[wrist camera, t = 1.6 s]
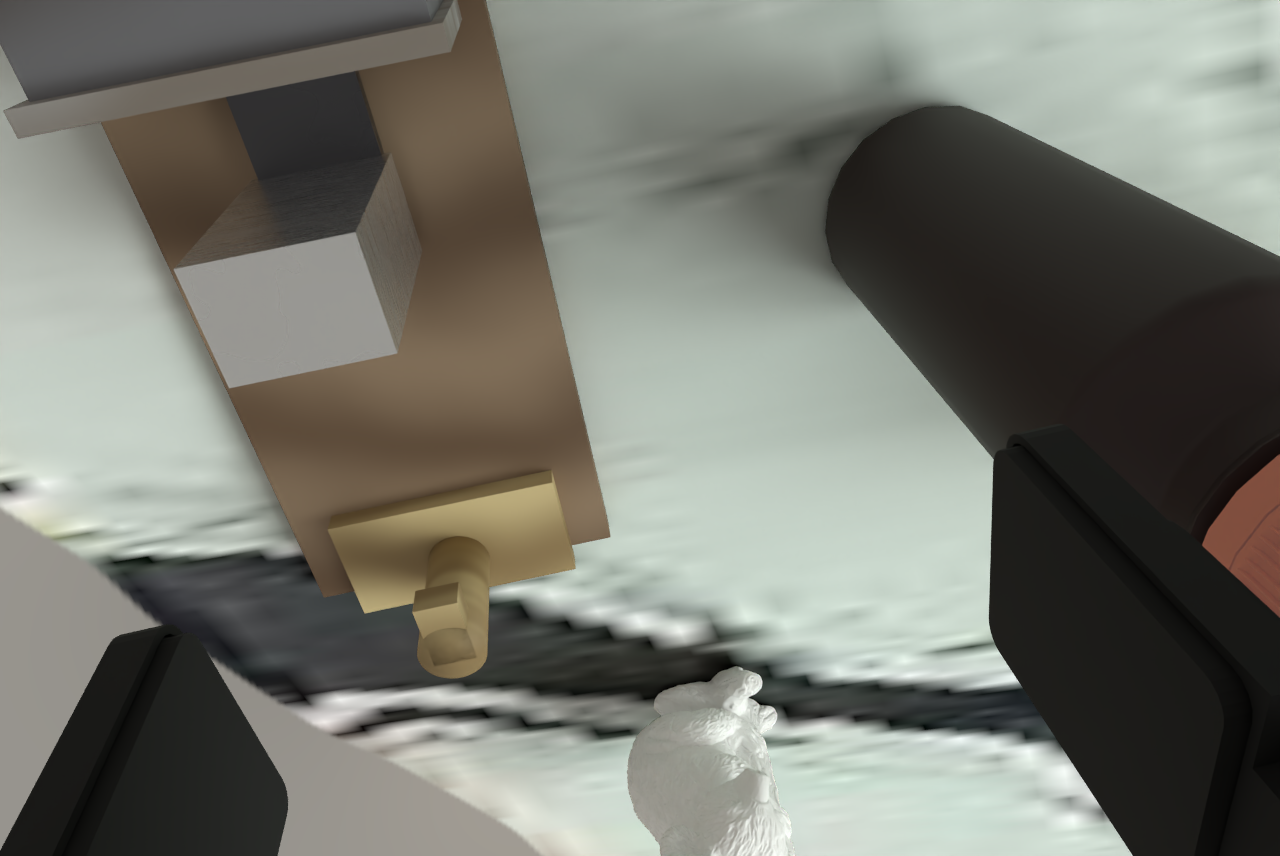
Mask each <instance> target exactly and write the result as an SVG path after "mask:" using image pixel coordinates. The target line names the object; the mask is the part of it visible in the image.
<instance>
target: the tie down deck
mask: <svg viewBox="0 0 1280 856" xmlns="http://www.w3.org/2000/svg"><path fill="white" fill-rule="evenodd" d="M0 44H1V46H2V48H3V50H4V52H5V54H6V56H7V58H8V60H9V62H10V64H11V66H12V68H13V70H14V72H15V74H16V76H17V78H18V80H19V82H20V84H21V86H22V88H23V90H24V92H25V94H26V96H27V98H28V100H26V101H24V102H22V103H19V104H17V105H15V106H13V107H10V108H8V109H6V110H4V113H5V115H6V117H7V119H8V121H9V123H10V125H11V126H12V128H13V130H14V132H15V134H16V136H17V138H18V139H19V138H24V137H29V136H34V135H39V134H44V133H49V132H54V131H59V130H64V129H69V128H74V127H79V126H84V125H89V124H94V123H99V122H101V124H102V126H103V128H104V130H105V132H106V134H107V136H108V139H109V141H110V143H111V145H112V147H113V149H114V151H115V153H116V156H117V158H118V160H119V162H120V164H121V166H122V168H123V170H124V173H125V175H126V177H127V179H128V181H129V183H130V185H131V188H132V190H133V192H134V194H135V196H136V198H137V200H138V202H139V205H140V207H141V209H142V211H143V213H144V215H145V217H146V219H147V222H148V224H149V226H150V228H151V230H152V232H153V234H154V236H155V239H156V241H157V243H158V245H159V247H160V249H161V251H162V254H163V256H164V258H165V260H166V262H167V264H168V266H169V268H170V271H171V273H172V275H173V277H174V279H175V281H176V283H177V285H178V288H179V290H180V292H181V294H182V296H183V298H184V300H185V302H186V305H187V307H188V309H189V311H190V313H191V315H192V317H193V320H194V322H195V324H196V326H197V328H198V330H199V332H200V334H201V337H202V339H203V341H204V343H205V345H206V347H207V349H208V351H209V354H210V356H211V358H212V360H213V362H214V364H215V366H216V368H217V371H218V373H219V375H220V377H221V379H222V381H223V383H224V386H225V388H226V390H227V392H228V394H229V396H230V398H231V400H232V403H233V405H234V407H235V409H236V411H237V413H238V415H239V417H240V420H241V422H242V424H243V426H244V428H245V430H246V432H247V434H248V437H249V439H250V441H251V443H252V445H253V447H254V449H255V452H256V454H257V456H258V458H259V460H260V462H261V464H262V466H263V469H264V471H265V473H266V475H267V477H268V479H269V481H270V483H271V486H272V488H273V490H274V492H275V494H276V496H277V498H278V500H279V503H280V505H281V507H282V509H283V511H284V513H285V515H286V518H287V520H288V522H289V524H290V526H291V528H292V530H293V532H294V535H295V537H296V539H297V541H298V543H299V545H300V547H301V549H302V552H303V554H304V556H305V558H306V560H307V562H308V564H309V566H310V569H311V571H312V573H313V575H314V577H315V579H316V581H317V584H318V586H319V588H320V590H321V592H322V594H323V596H324V597H329V596H333V595H338V594H343V593H347V592H352V591H355V593H356V595H357V597H358V599H359V602H360V604H361V606H362V608H363V611H364V613H369V612H374V611H378V610H383V609H388V608H392V607H397V606H402V605H407V604H411V603H414V604H413V612H412V613H413V615H414V617H415V620H416V622H417V625H418V627H419V630H420V633H419V641H418V650H417V656H418V660H419V662H420V664H421V665H422V667H423V668H424V669H425V670H427V671H428V672H430V673H431V674H433V675H436V676H439V677H443V678H460V677H465V676H468V675H470V674H472V673H474V672H476V671H477V670H478V669H480V668H481V667H482V665H483V664H484V663H485V661H486V658H487V647H488V614H489V587H492V586H497V585H501V584H506V583H511V582H516V581H520V580H525V579H530V578H535V577H539V576H544V575H549V574H553V573H558V572H563V571H568V570H572V569H576V568H575V558H574V552H573V549H572V545H575V544H580V543H585V542H589V541H594V540H599V539H604V538H608V537H610V531H609V524H608V519H607V515H606V510H605V506H604V502H603V498H602V493H601V489H600V485H599V481H598V476H597V472H596V468H595V464H594V459H593V455H592V451H591V447H590V442H589V438H588V434H587V430H586V425H585V421H584V417H583V413H582V408H581V404H580V400H579V395H578V391H577V387H576V383H575V378H574V374H573V370H572V366H571V361H570V357H569V353H568V349H567V344H566V340H565V336H564V332H563V327H562V323H561V319H560V315H559V310H558V306H557V302H556V298H555V293H554V289H553V285H552V280H551V276H550V272H549V268H548V263H547V259H546V255H545V251H544V246H543V242H542V238H541V234H540V229H539V225H538V221H537V217H536V212H535V208H534V204H533V200H532V195H531V191H530V187H529V183H528V178H527V174H526V170H525V165H524V161H523V157H522V153H521V148H520V144H519V140H518V136H517V131H516V127H515V123H514V119H513V114H512V110H511V106H510V102H509V97H508V93H507V89H506V85H505V80H504V76H503V72H502V68H501V63H500V59H499V55H498V50H497V46H496V42H495V38H494V33H493V29H492V25H491V21H490V16H489V12H488V8H487V4H486V0H0ZM353 71H359V74H360V77H361V81H362V84H363V87H364V90H365V93H366V97H367V100H368V103H369V106H370V109H371V113H372V116H373V119H374V122H375V125H376V128H377V132H378V135H379V138H380V141H381V144H382V148H383V151H384V153H387V152H392V156H393V159H394V162H395V165H396V168H397V172H398V175H399V178H400V181H401V185H402V188H403V191H404V194H405V197H406V201H407V204H408V207H409V210H410V214H411V217H412V220H413V223H414V227H415V230H416V233H417V236H418V239H419V243H420V246H421V249H422V254H421V258H420V262H419V266H418V270H417V274H416V279H415V283H414V287H413V291H412V295H411V299H410V303H409V308H408V312H407V316H406V320H405V324H404V328H403V332H402V337H401V341H400V345H399V349H398V353H397V354H393V355H388V356H383V357H379V358H374V359H369V360H364V361H359V362H354V363H350V364H345V365H340V366H335V367H330V368H325V369H320V370H316V371H311V372H306V373H301V374H296V375H291V376H287V377H282V378H277V379H272V380H267V381H262V382H257V383H253V384H248V385H243V386H238V387H233V388H229V387H228V385H227V383H226V381H225V379H224V376H223V374H222V372H221V370H220V368H219V366H218V364H217V361H216V359H215V357H214V355H213V353H212V351H211V349H210V346H209V344H208V342H207V340H206V338H205V336H204V334H203V331H202V329H201V327H200V325H199V323H198V321H197V319H196V316H195V314H194V312H193V310H192V308H191V306H190V304H189V302H188V299H187V297H186V295H185V293H184V291H183V289H182V287H181V284H180V282H179V280H178V278H177V276H176V274H175V272H174V268H175V267H176V266H177V265H178V264H179V262H180V261H181V260H182V259H183V258H184V257H185V256H186V254H187V253H188V252H189V251H190V250H191V249H192V248H193V246H194V245H195V244H196V243H197V242H198V241H199V240H200V238H201V237H202V236H203V235H204V234H205V233H206V232H207V230H208V229H209V228H210V227H211V226H212V225H213V224H214V222H215V221H216V220H217V219H218V218H219V217H220V216H221V214H222V213H223V212H224V211H225V210H226V209H227V208H228V206H229V205H230V204H231V203H232V202H233V201H234V200H235V199H236V197H237V196H238V195H239V194H240V193H241V192H242V191H243V189H244V188H245V187H246V186H247V185H248V184H249V183H250V181H251V180H254V179H258V178H257V176H256V173H255V170H254V168H253V165H252V163H251V160H250V158H249V155H248V153H247V150H246V148H245V145H244V142H243V140H242V137H241V135H240V132H239V130H238V127H237V125H236V122H235V120H234V117H233V115H232V112H231V109H230V107H229V104H228V102H227V99H226V97H228V96H233V95H238V94H243V93H248V92H253V91H258V90H263V89H268V88H273V87H278V86H283V85H288V84H293V83H298V82H303V81H308V80H313V79H318V78H323V77H328V76H333V75H338V74H343V73H348V72H353Z"/></svg>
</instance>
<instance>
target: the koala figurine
mask: <svg viewBox="0 0 1280 856" xmlns="http://www.w3.org/2000/svg"><path fill="white" fill-rule="evenodd" d="M761 688H762V679H761V677H760V675H759V674H756V673H753V672H751V671H749V670H743V669H742V668H741V667H738V666H735V667H732V668H729V669H728V670H723V671H720V672H718V673H717V674H716V675H715V676H714V677H713V678H712V680H711V681H709V682H700V681H699V682H695V683H688V684H685V685H684V684H683V685H677V686H676V687H673V688H669V689H668V690H664V691H662V692H661V693H659V694H658V695H657V697H656V698H655V700H654V709H655V710H656V711H657V712H658V713H659V714H660V715H662V716H660V717H659V718H657V719H656V720H654V721H653V722H651V723H650V724H649V725H648V726H646V727H645V728H644V729H643V730H641V732H640V733H639V734H638V736H637V737H636V740H635V741H634V743H633V747H632V749H631V752H630V755H629V759H628V770H627V774H628V777H627V778H628V790H629V794H630V797H631V800H632V803H633V807H634V811H635V813H636V815H637V816H638V819H640V821H641V822H642V823H643V824H644V825H645V827H646V828H647V829H648V830H649V831H650V833H651V834H652V835H653V836H654V837H655V840H656V841H657V842H658V843H659V845H660V854H661V856H796V854H795V849H794V846H793V842H792V841H791V839H790V837H791V832H792V829H791V822H790V820H789V815H788V813H787V812H786V811H785V810H784V809H783V808H782V807H780V803H779V797H778V794H779V793H778V789H777V786H776V782H775V779H774V775H773V770H772V764H771V760H770V757H769V754H768V752H767V747H766V742H765V740H764V738H763V737H762V736H761V733H763V732H765V731H768V730H770V729H771V728H772V727H773V725H774V724H775V722H776V720H777V712H776V711H775V709H774V708H773V707H771V706H766V705H759V704H758V703H757V702H756V701H754V700H753V699H750V698H749V697H750V696H752V695H754V694H756V693H757V692H758V691H759V690H760V689H761Z"/></svg>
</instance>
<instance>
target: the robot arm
mask: <svg viewBox="0 0 1280 856" xmlns="http://www.w3.org/2000/svg"><path fill="white" fill-rule="evenodd" d="M989 625H990V630H991V634H992V637H993V640H994V642H995V645H996V647H997V649H998V650H999V652H1000V654H1001V655H1002V657H1003V658H1004V660H1005V661H1006V663H1007V664H1008V666H1009V667H1010V669H1011V670H1012V672H1013V673H1014V675H1015V677H1016V678H1017V680H1018V681H1019V683H1020V684H1021V686H1022V687H1023V689H1024V690H1025V692H1026V693H1027V695H1028V696H1029V698H1030V699H1031V701H1032V702H1033V704H1034V705H1035V707H1036V709H1037V710H1038V712H1039V713H1040V715H1041V716H1042V718H1043V719H1044V721H1045V722H1046V724H1047V725H1048V727H1049V728H1050V730H1051V731H1052V733H1053V734H1054V736H1055V737H1056V739H1057V741H1058V742H1059V744H1060V745H1061V747H1062V748H1063V750H1064V751H1065V753H1066V754H1067V756H1068V757H1069V759H1070V760H1071V762H1072V763H1073V765H1074V766H1075V768H1076V770H1077V771H1078V773H1079V774H1080V776H1081V777H1082V779H1083V780H1084V782H1085V783H1086V785H1087V786H1088V788H1089V789H1090V791H1091V792H1092V794H1093V795H1094V797H1095V798H1096V800H1097V802H1098V803H1099V805H1100V806H1101V808H1102V809H1103V811H1104V812H1105V814H1106V815H1107V817H1108V818H1109V820H1110V821H1111V823H1112V824H1113V826H1114V827H1115V829H1116V831H1117V832H1118V834H1119V835H1120V837H1121V838H1122V840H1123V841H1124V843H1125V844H1126V846H1127V847H1128V849H1129V850H1130V852H1131V853H1132V855H1133V856H1280V617H1278V616H1277V615H1276V614H1275V613H1274V612H1273V611H1272V610H1271V609H1270V608H1269V607H1268V606H1267V605H1266V604H1264V603H1263V602H1262V601H1261V600H1260V599H1259V598H1258V597H1257V596H1256V595H1255V594H1254V593H1253V592H1252V591H1251V590H1249V589H1248V588H1247V587H1246V586H1245V585H1244V584H1243V583H1242V582H1241V581H1240V580H1239V579H1238V578H1237V577H1235V576H1234V575H1233V574H1232V573H1231V572H1230V571H1229V570H1228V569H1227V568H1226V567H1225V566H1224V565H1223V564H1221V563H1220V562H1219V561H1218V560H1217V559H1216V558H1215V557H1214V556H1213V555H1212V554H1211V553H1210V552H1209V551H1207V550H1206V549H1205V548H1204V547H1203V546H1202V545H1201V544H1200V543H1199V542H1198V541H1197V540H1196V539H1195V538H1194V537H1192V536H1191V535H1190V534H1189V533H1188V532H1187V531H1186V530H1185V529H1183V528H1182V527H1181V526H1179V525H1178V524H1176V523H1175V522H1174V521H1170V520H1167V519H1166V518H1165V517H1164V516H1163V515H1162V514H1161V513H1160V512H1159V511H1158V510H1156V509H1155V508H1154V507H1153V506H1152V505H1151V504H1150V503H1149V502H1148V501H1147V500H1146V499H1145V498H1144V497H1143V496H1142V495H1141V494H1139V493H1138V492H1137V491H1136V490H1135V489H1134V488H1133V487H1132V486H1131V485H1130V484H1129V483H1128V482H1127V481H1126V480H1125V479H1123V478H1122V477H1121V476H1120V475H1119V474H1118V473H1117V472H1116V471H1115V470H1114V469H1113V468H1112V467H1111V466H1110V465H1109V464H1108V463H1106V462H1105V461H1104V460H1103V459H1102V458H1101V457H1100V456H1099V455H1098V454H1097V453H1096V452H1095V451H1094V450H1093V449H1092V448H1090V447H1089V446H1088V445H1087V444H1086V443H1085V442H1084V441H1083V440H1082V439H1081V438H1080V437H1079V436H1078V435H1077V434H1076V433H1075V432H1073V431H1072V430H1071V429H1070V428H1069V427H1067V426H1066V425H1064V424H1056V425H1051V426H1047V427H1042V428H1038V429H1033V430H1029V431H1025V432H1020V433H1016V434H1013V435H1011V436H1010V437H1009V439H1008V441H1007V445H1006V449H1002V450H999V451H997V452H996V454H995V456H994V462H993V495H992V530H991V564H990V598H989ZM287 811H288V797H287V791H286V787H285V784H284V782H283V779H282V778H281V776H280V774H279V773H278V771H277V769H276V768H275V766H274V764H273V763H272V761H271V759H270V758H269V756H268V754H267V753H266V751H265V749H264V748H263V746H262V744H261V743H260V741H259V739H258V737H257V736H256V734H255V732H254V731H253V729H252V727H251V726H250V724H249V722H248V721H247V719H246V717H245V716H244V714H243V712H242V711H241V709H240V707H239V706H238V704H237V702H236V700H235V699H234V697H233V695H232V694H231V692H230V690H229V689H228V687H227V685H226V684H225V682H224V680H223V679H222V677H221V675H220V674H219V672H218V670H217V668H216V667H215V665H214V663H213V662H212V660H211V658H210V657H209V655H208V653H207V652H206V650H205V648H204V647H203V645H202V643H201V642H200V640H199V639H198V638H197V636H195V635H194V634H192V633H185V634H183V633H182V632H181V630H180V629H179V628H177V627H176V626H174V625H162V626H158V627H154V628H149V629H144V630H140V631H136V632H132V633H127V634H122V635H119V636H117V637H116V638H114V639H113V640H112V641H111V643H110V644H109V646H108V647H107V649H106V651H105V653H104V655H103V657H102V659H101V661H100V662H99V664H98V666H97V668H96V670H95V672H94V674H93V676H92V678H91V680H90V682H89V683H88V685H87V687H86V689H85V691H84V693H83V695H82V697H81V698H80V700H79V702H78V704H77V706H76V708H75V710H74V712H73V714H72V716H71V717H70V719H69V721H68V724H67V725H66V727H65V729H64V731H63V733H62V735H61V736H60V738H59V740H58V742H57V744H56V746H55V748H54V750H53V752H52V754H51V756H50V757H49V759H48V761H47V763H46V765H45V767H44V769H43V771H42V773H41V775H40V776H39V778H38V780H37V782H36V784H35V786H34V788H33V789H32V791H31V793H30V795H29V797H28V799H27V801H26V803H25V805H24V807H23V808H22V810H21V812H20V814H19V816H18V818H17V820H16V822H15V824H14V826H13V827H12V830H11V831H10V833H9V835H8V837H7V839H6V841H5V843H4V844H3V846H2V849H1V850H0V856H277V855H278V851H279V847H280V842H281V838H282V834H283V829H284V825H285V821H286V817H287Z"/></svg>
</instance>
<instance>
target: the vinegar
mask: <svg viewBox="0 0 1280 856" xmlns="http://www.w3.org/2000/svg"><path fill="white" fill-rule="evenodd" d="M825 231H826V237H827V241H828V246H829V250H830V254H831V259H832V262H833V264H834V265H835V267H836V268H837V270H838V272H839V273H840V275H841V276H842V278H843V279H844V281H845V282H846V284H847V285H848V286H849V288H850V289H851V290H852V291H853V292H854V294H855V295H856V296H857V297H858V298H859V299H860V301H861V302H862V303H863V304H864V305H865V307H866V308H867V309H868V310H869V311H870V313H871V314H872V315H873V316H874V317H875V319H876V320H877V321H878V322H879V323H880V324H881V326H882V327H883V328H884V329H885V330H886V332H887V333H888V334H889V335H890V336H891V338H892V339H893V340H894V341H895V342H896V343H897V345H898V346H899V347H900V348H901V349H902V351H903V352H904V353H905V354H906V355H907V357H908V358H909V359H910V360H911V361H912V362H913V364H914V365H915V366H916V367H917V368H918V370H919V371H920V372H921V373H922V374H923V376H924V377H925V378H926V379H927V380H928V382H929V383H930V384H931V385H932V386H933V387H934V389H935V390H936V391H937V392H938V393H939V395H940V396H941V397H942V398H943V399H944V401H945V402H946V403H947V404H948V405H949V406H950V408H951V409H952V410H953V411H954V412H955V414H956V415H957V416H958V417H959V418H960V420H961V421H962V422H963V423H964V424H965V425H966V427H967V428H968V429H969V430H970V431H971V433H972V434H973V435H974V436H975V437H976V439H977V440H978V441H979V442H980V443H981V445H982V446H983V447H984V448H985V449H986V450H987V452H988V453H989V454H990V455H991V456H992V458H993V459H994V456H995V454H996V452H997V451H999V450H1002V449H1006V445H1007V441H1008V439H1009V437H1010V436H1011V435H1013V434H1016V433H1020V432H1025V431H1029V430H1033V429H1038V428H1042V427H1047V426H1051V425H1056V424H1064V425H1066V426H1067V427H1069V428H1070V429H1071V430H1072V431H1073V432H1075V433H1076V434H1077V435H1078V436H1079V437H1080V438H1081V439H1082V440H1083V441H1084V442H1085V443H1086V444H1087V445H1088V446H1089V447H1090V448H1092V449H1093V450H1094V451H1095V452H1096V453H1097V454H1098V455H1099V456H1100V457H1101V458H1102V459H1103V460H1104V461H1105V462H1106V463H1108V464H1109V465H1110V466H1111V467H1112V468H1113V469H1114V470H1115V471H1116V472H1117V473H1118V474H1119V475H1120V476H1121V477H1122V478H1123V479H1125V480H1126V481H1127V482H1128V483H1129V484H1130V485H1131V486H1132V487H1133V488H1134V489H1135V490H1136V491H1137V492H1138V493H1139V494H1141V495H1142V496H1143V497H1144V498H1145V499H1146V500H1147V501H1148V502H1149V503H1150V504H1151V505H1152V506H1153V507H1154V508H1155V509H1156V510H1158V511H1159V512H1160V513H1161V514H1162V515H1163V516H1164V517H1165V518H1166V519H1167V520H1170V521H1174V522H1175V523H1176V524H1178V525H1179V526H1181V527H1182V528H1183V529H1185V530H1186V531H1187V532H1188V533H1189V534H1190V535H1191V536H1192V537H1194V538H1195V539H1196V540H1197V541H1198V542H1199V543H1200V544H1201V545H1202V546H1203V547H1204V548H1205V549H1206V550H1207V551H1209V552H1210V553H1211V554H1212V555H1213V556H1214V557H1215V558H1216V559H1217V560H1218V561H1219V562H1220V563H1221V564H1223V565H1224V566H1225V567H1226V568H1227V569H1228V570H1229V571H1230V572H1231V573H1232V574H1233V575H1234V576H1235V577H1237V578H1238V579H1239V580H1240V581H1241V582H1242V583H1243V584H1244V585H1245V586H1246V587H1247V588H1248V589H1249V590H1251V591H1252V592H1253V593H1254V594H1255V595H1256V596H1257V597H1258V598H1259V599H1260V600H1261V601H1262V602H1263V603H1264V604H1266V605H1267V606H1268V607H1269V608H1270V609H1271V610H1272V611H1273V612H1274V613H1275V614H1276V615H1277V616H1278V617H1280V256H1278V255H1276V254H1273V253H1271V252H1269V251H1267V250H1265V249H1263V248H1261V247H1259V246H1257V245H1255V244H1253V243H1251V242H1249V241H1247V240H1244V239H1242V238H1240V237H1238V236H1236V235H1234V234H1232V233H1230V232H1228V231H1226V230H1224V229H1222V228H1220V227H1218V226H1216V225H1213V224H1211V223H1209V222H1207V221H1205V220H1203V219H1201V218H1199V217H1197V216H1195V215H1193V214H1191V213H1189V212H1187V211H1185V210H1182V209H1180V208H1178V207H1176V206H1174V205H1172V204H1170V203H1168V202H1166V201H1164V200H1162V199H1160V198H1158V197H1156V196H1153V195H1151V194H1149V193H1147V192H1145V191H1143V190H1141V189H1139V188H1137V187H1135V186H1133V185H1131V184H1129V183H1127V182H1125V181H1122V180H1120V179H1118V178H1116V177H1114V176H1112V175H1110V174H1108V173H1106V172H1104V171H1102V170H1100V169H1098V168H1096V167H1094V166H1091V165H1089V164H1087V163H1085V162H1083V161H1081V160H1079V159H1077V158H1075V157H1073V156H1071V155H1069V154H1067V153H1065V152H1062V151H1060V150H1058V149H1056V148H1054V147H1052V146H1050V145H1048V144H1046V143H1044V142H1042V141H1040V140H1038V139H1036V138H1034V137H1031V136H1029V135H1027V134H1025V133H1023V132H1021V131H1019V130H1017V129H1015V128H1013V127H1011V126H1009V125H1007V124H1005V123H1003V122H1000V121H998V120H996V119H994V118H992V117H990V116H988V115H985V114H982V113H979V112H976V111H973V110H970V109H967V108H964V107H961V106H946V107H925V108H922V109H919V110H916V111H913V112H911V113H908V114H905V115H902V116H900V117H897V118H894V119H892V120H890V121H889V122H888V123H886V124H885V125H884V126H882V127H881V128H879V129H878V130H877V131H875V132H874V133H873V134H871V135H870V136H869V137H867V138H866V139H864V140H863V141H862V143H861V144H860V145H859V147H858V148H857V149H856V150H855V152H854V153H853V154H852V155H851V157H850V158H849V159H848V160H847V162H846V163H845V164H844V166H843V167H842V168H841V171H840V173H839V175H838V178H837V180H836V183H835V185H834V187H833V190H832V192H831V195H830V197H829V200H828V210H827V220H826V229H825Z"/></svg>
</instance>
